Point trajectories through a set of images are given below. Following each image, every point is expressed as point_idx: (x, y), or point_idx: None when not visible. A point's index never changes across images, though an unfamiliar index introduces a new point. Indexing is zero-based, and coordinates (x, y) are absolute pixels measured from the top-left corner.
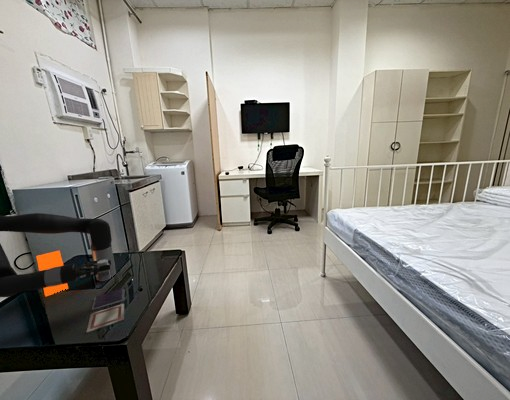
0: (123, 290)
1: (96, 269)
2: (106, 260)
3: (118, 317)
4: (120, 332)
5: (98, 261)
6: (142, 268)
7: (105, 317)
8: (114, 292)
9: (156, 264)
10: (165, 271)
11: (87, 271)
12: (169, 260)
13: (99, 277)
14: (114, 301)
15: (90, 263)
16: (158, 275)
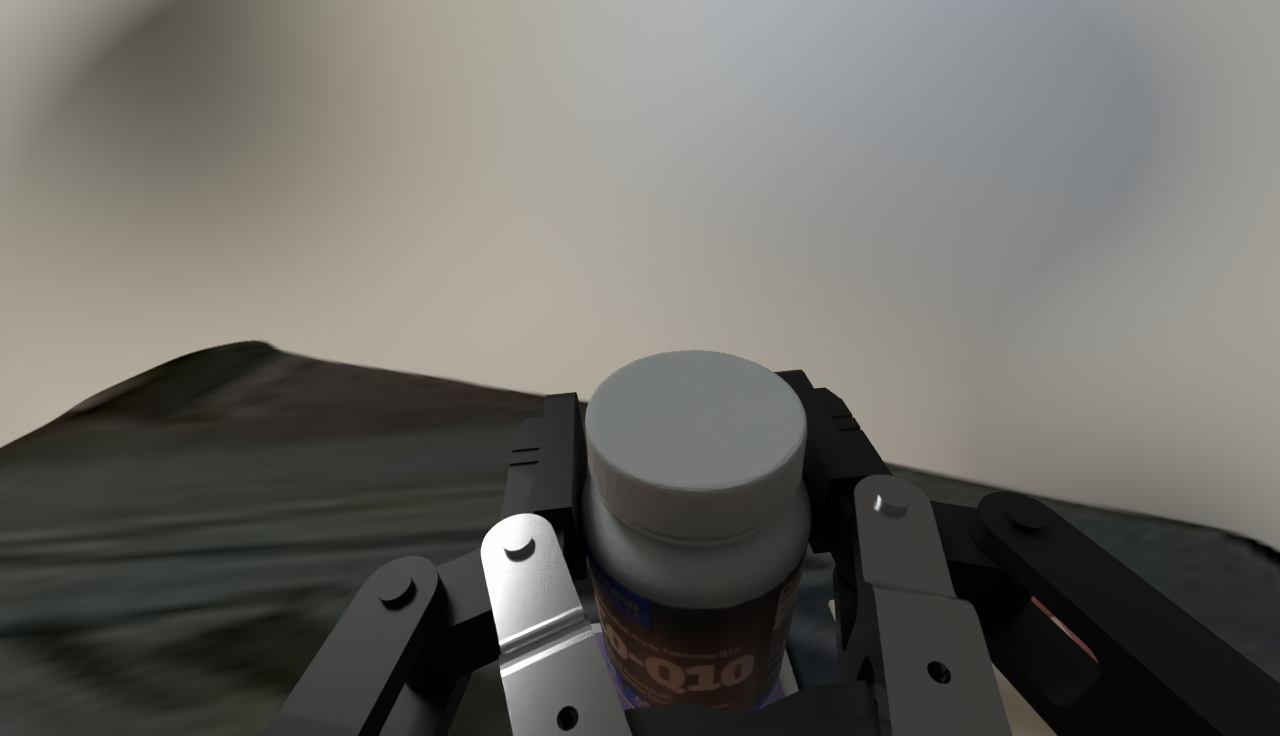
0: (600, 630)
1: (1014, 498)
2: (682, 360)
3: (1046, 611)
4: (1206, 580)
5: (660, 472)
6: (237, 530)
7: (1053, 734)
8: (621, 705)
9: (285, 443)
10: (469, 397)
11: (1222, 686)
12: (314, 382)
13: (773, 673)
14: (788, 686)
15: (577, 733)
16: (495, 427)
